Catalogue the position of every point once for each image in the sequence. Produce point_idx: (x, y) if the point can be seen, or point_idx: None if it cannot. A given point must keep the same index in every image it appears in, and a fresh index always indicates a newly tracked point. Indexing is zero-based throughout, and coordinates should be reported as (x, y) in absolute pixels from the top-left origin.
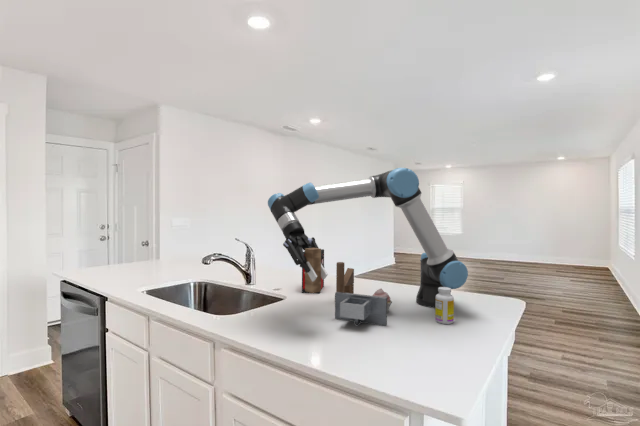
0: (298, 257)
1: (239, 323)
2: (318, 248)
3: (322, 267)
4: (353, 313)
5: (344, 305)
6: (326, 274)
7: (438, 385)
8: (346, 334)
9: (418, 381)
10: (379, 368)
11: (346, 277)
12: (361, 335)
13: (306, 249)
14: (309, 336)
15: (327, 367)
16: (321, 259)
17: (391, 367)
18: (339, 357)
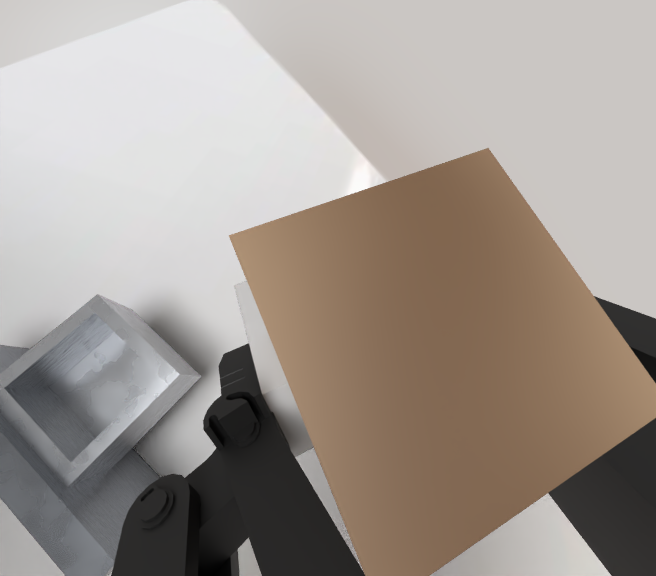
0: (605, 311)
1: (564, 528)
2: (280, 305)
3: (258, 318)
4: (152, 334)
5: (167, 359)
6: (247, 282)
7: (181, 48)
8: (221, 310)
9: (204, 66)
10: (244, 120)
11: None
12: (180, 290)
13: (603, 339)
14: None
15: (343, 152)
16: (199, 466)
17: (218, 116)
18: (303, 182)
